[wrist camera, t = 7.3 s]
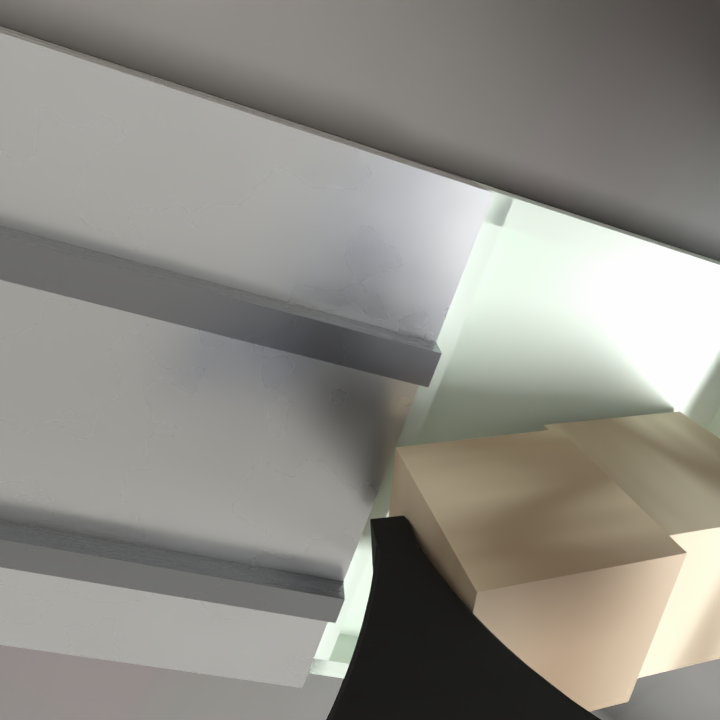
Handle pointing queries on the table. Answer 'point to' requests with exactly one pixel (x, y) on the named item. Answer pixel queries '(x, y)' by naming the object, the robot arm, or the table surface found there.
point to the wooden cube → (669, 517)
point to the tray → (553, 350)
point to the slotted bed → (200, 362)
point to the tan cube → (543, 554)
